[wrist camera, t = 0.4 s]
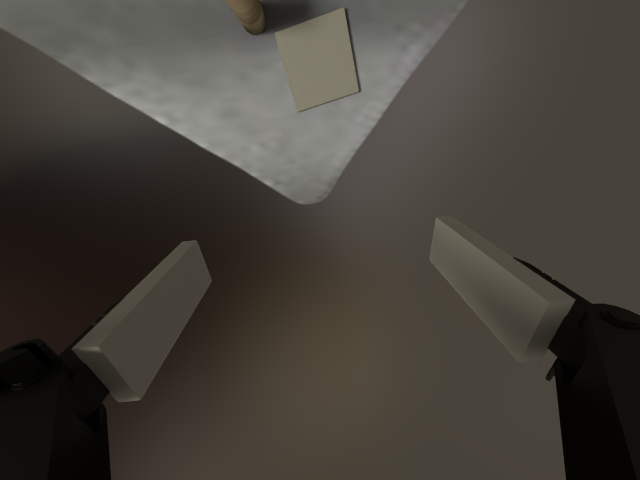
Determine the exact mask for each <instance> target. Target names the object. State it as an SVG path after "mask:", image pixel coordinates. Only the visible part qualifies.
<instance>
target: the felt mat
mask: <svg viewBox="0 0 640 480" xmlns="http://www.w3.org/2000/svg"><path fill="white" fill-rule="evenodd" d="M275 37H276V40H277V44H278V47H279V50H280V54H281V57H282V61H283V64H284V68H285V71H286V74H287V78H288V81H289V85H290V88H291V92H292V95H293V98H294V102H295V105H296V109H297V112H299V111H302V110H305V109H308V108H311V107H314V106H317V105H320V104H323V103H326V102H329V101H332V100H336V99H339V98H342V97H345V96H348V95H351V94H354V93H357V92H359V89H358V83H357V77H356V72H355V66H354V61H353V55H352V49H351V44H350V38H349V32H348V27H347V21H346V16H345V10H344V8H341V9H338V10H335V11H333V12H330V13H327V14H325V15H322V16H319V17H316V18H314V19H311V20H308V21H305V22H303V23H300V24H297V25H295V26H292V27H289V28H286V29H284V30H281V31H278V32H275Z"/></svg>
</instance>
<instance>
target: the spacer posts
mask: <svg viewBox="0 0 640 480" xmlns="http://www.w3.org/2000/svg"><path fill="white" fill-rule="evenodd" d="M226 1H227V3H228V4H229V6H230V7H231V9H232V10H233V12H234V13H235V15H236V16H237V18H238V19H239V21H240V22H241V24H242V25H243V27H244V28H245V30H246V31H247V32H248V33H250V34H252V35H259V34H260V33H262V32H263V30H264V28H265V25H266V17H265V14H264V11H263V9H262V6H261V4H260V1H259V0H226Z"/></svg>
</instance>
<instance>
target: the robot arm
mask: <svg viewBox="0 0 640 480" xmlns="http://www.w3.org/2000/svg"><path fill="white" fill-rule="evenodd" d="M429 260H430V261H431V262H432V263H433V265H434V266H435V267H436V268H437V269H438V270H439V271H440V273H441V274H442V275H443V276H444V277H445V278H446V279H447V281H448V282H449V283H450V284H451V285H452V286H453V287H454V289H455V290H456V291H457V292H458V293H459V294H460V295H461V297H462V298H463V299H464V300H465V301H466V302H467V303H468V305H469V306H470V307H471V308H472V309H473V310H474V311H475V313H476V314H477V315H478V316H479V317H480V318H481V320H482V321H483V322H484V323H485V324H486V325H487V326H488V327H489V329H490V330H491V331H492V332H493V333H494V334H495V336H496V337H497V338H498V339H499V340H500V341H501V342H502V343H503V345H504V346H505V347H506V348H507V349H508V350H509V351H510V353H511V354H512V355H513V356H514V357H515V358H516V360H517V361H518V362H519V363H522V362H532V361H541V360H542V359H543V357H544V355H545V353H546V351H547V350H548V349H550V350H551V351H552V352H553V353H554V354H555V355H556V356H557V359H556V360H555V362H554V364H553V365H552V367H551V369H550V370H549V372H548V374H547V376H546V380H549V381H550V380H551V379H552V377H553V376H555V379H556V389H557V398H558V408H559V417H560V427H561V435H562V445H563V455H564V464H565V474H566V480H640V315H638V314H635V313H633V312H631V311H629V310H626V309H623V308H620V307H617V306H613V305H608V304H592V303H590V302H589V301H587V300H585V299H584V298H582V297H581V296H579V295H577V294H576V293H575V292H573V291H571V290H570V289H568V288H567V287H565V286H564V285H562V284H560V283H559V282H557V281H556V280H552V278H551V277H550V276H548V275H547V274H545V273H542V272H541V271H540V270H539V269H537V268H536V267H534V266H532V265H531V264H529V263H527V262H525V261H522V260H519V259H517V258H515V257H514V258H512V257H511V256H509V255H508V254H506V253H505V252H503V251H502V250H500V249H499V248H497V247H496V246H494V245H493V244H491V243H490V242H488V241H487V240H485V239H484V238H482V237H481V236H479V235H478V234H476V233H475V232H473V231H472V230H470V229H469V228H467V227H466V226H464V225H463V224H461V223H460V222H458V221H457V220H455V219H454V218H452V217H451V216H444V217H436V222H435V228H434V234H433V240H432V246H431V253H430V259H429ZM211 281H212V280H211V277H210V275H209V272H208V270H207V267H206V264H205V261H204V259H203V256H202V253H201V251H200V248H199V245H198V243H197V240H196V241H185V242H182V243H181V244H180V245H179V246H178V247H177V248H176V249H175V250H173V252H171V254H169V255H168V256H167V257H166V258H165V259H164V260H163V261H162V262H161V263H160V264H159V265H158V266H157V267H156V268H155V269H154V270H153V271H152V272H151V273H150V274H149V275H148V276H147V277H146V278H144V279H143V280H142V281H141V282H140V283H139V284H138V285H137V286H136V287H135V288H134V289H133V290H132V291H131V292H130V293H129V294H128V295H127V296H125V297H124V298H122V299H121V300H119V301H118V302H116V303H115V304H113V305H112V306H111V307H110V308H109V309H108V310H107V311H106V312H104V313H103V314H102V317H99V318H98V319H97V320H96V321H95V322H94V323H93V325H91V326H89V327H88V328H87V329H86V330H85V331H84V332H83V333H82V334H81V335H80V336H79V337H78V338H77V339H76V340H75V341H74V342H72V343H71V344H70V345H69V346H68V347H67V348H66V349H65V350H64V351H63V352H62V353H61V354H60V355H59V356H58V355H57V354H56V353H55V352H54V351H53V350H52V349H51V348H50V347H49V346H48V345H47V344H46V343H45V342H44V341H43V340H41V339H32V340H26V341H24V342H21V343H18V344H16V345H13V346H11V347H9V348H7V349H5V350H3V351H1V352H0V480H111V471H110V456H109V441H108V426H107V411H106V408H105V406H104V404H103V403H102V401H103V400H104V399H105V397H106V396H107V395H108V393H109V392H110V393H111V395H112V396H113V397H114V398H115V399H116V400H117V401H118V402H125V401H135V400H140V399H141V398H142V397H143V395H144V393H145V392H146V390H147V388H148V387H149V385H150V383H151V382H152V380H153V378H154V377H155V375H156V373H157V371H158V370H159V368H160V366H161V365H162V363H163V361H164V360H165V358H166V357H167V355H168V353H169V351H170V349H171V348H172V347H173V345H174V343H175V342H176V340H177V338H178V336H179V335H180V333H181V331H182V330H183V328H184V326H185V325H186V323H187V322H188V320H189V318H190V316H191V315H192V313H193V311H194V310H195V308H196V306H197V305H198V303H199V301H200V300H201V298H202V296H203V295H204V293H205V291H206V290H207V288H208V286H209V285H210V283H211Z"/></svg>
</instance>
